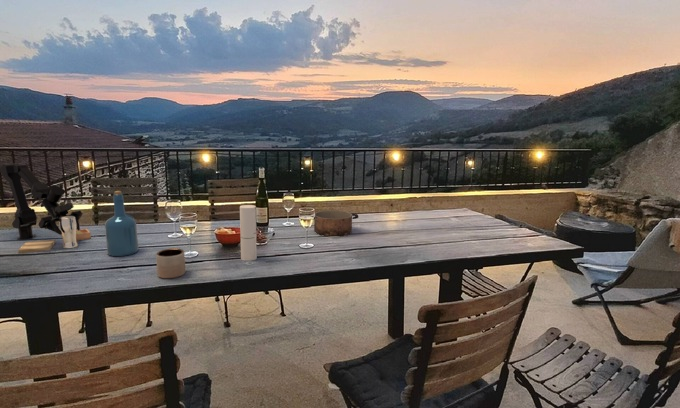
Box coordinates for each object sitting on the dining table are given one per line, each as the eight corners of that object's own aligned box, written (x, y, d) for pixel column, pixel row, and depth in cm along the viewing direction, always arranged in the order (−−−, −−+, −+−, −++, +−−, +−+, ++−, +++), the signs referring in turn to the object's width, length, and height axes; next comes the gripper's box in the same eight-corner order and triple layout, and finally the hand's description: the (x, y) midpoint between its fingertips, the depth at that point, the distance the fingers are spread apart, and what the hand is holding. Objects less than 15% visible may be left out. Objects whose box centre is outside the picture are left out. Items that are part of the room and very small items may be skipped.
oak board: (26, 244, 197) (25, 242, 197) (55, 242, 202) (54, 239, 202) (18, 253, 185) (18, 250, 184) (49, 250, 190) (49, 247, 190)
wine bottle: (125, 258, 181) (119, 194, 175) (100, 255, 184) (94, 192, 178) (145, 249, 194) (140, 189, 188) (122, 247, 197) (116, 188, 191)
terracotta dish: (68, 237, 210) (67, 231, 210) (87, 234, 216) (87, 228, 215) (70, 241, 204) (69, 235, 203) (90, 238, 210) (90, 232, 209)
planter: (162, 269, 169) (161, 248, 167) (188, 269, 170) (187, 248, 168) (153, 279, 158) (151, 256, 156) (181, 279, 159) (179, 256, 157)
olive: (76, 236, 210) (75, 230, 210) (83, 235, 212) (82, 230, 211) (75, 237, 208) (74, 232, 207) (82, 237, 209) (81, 231, 209)
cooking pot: (308, 237, 222) (308, 219, 220) (307, 227, 244) (307, 210, 241) (360, 236, 225) (361, 218, 223) (355, 226, 247) (355, 210, 245)
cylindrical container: (259, 257, 187) (258, 205, 182) (251, 261, 181) (250, 208, 176) (246, 255, 189) (245, 204, 184) (238, 259, 183) (236, 207, 178)
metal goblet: (70, 249, 192) (66, 219, 189) (58, 248, 193) (54, 218, 190) (82, 245, 199) (79, 216, 196) (70, 243, 200) (67, 215, 197)
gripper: (38, 201, 184) (57, 226, 182) (78, 194, 201) (95, 218, 199) (30, 215, 189) (48, 240, 187) (69, 208, 206) (86, 231, 204)
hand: (70, 232), depth 194 cm, fingers open, 8 cm apart
